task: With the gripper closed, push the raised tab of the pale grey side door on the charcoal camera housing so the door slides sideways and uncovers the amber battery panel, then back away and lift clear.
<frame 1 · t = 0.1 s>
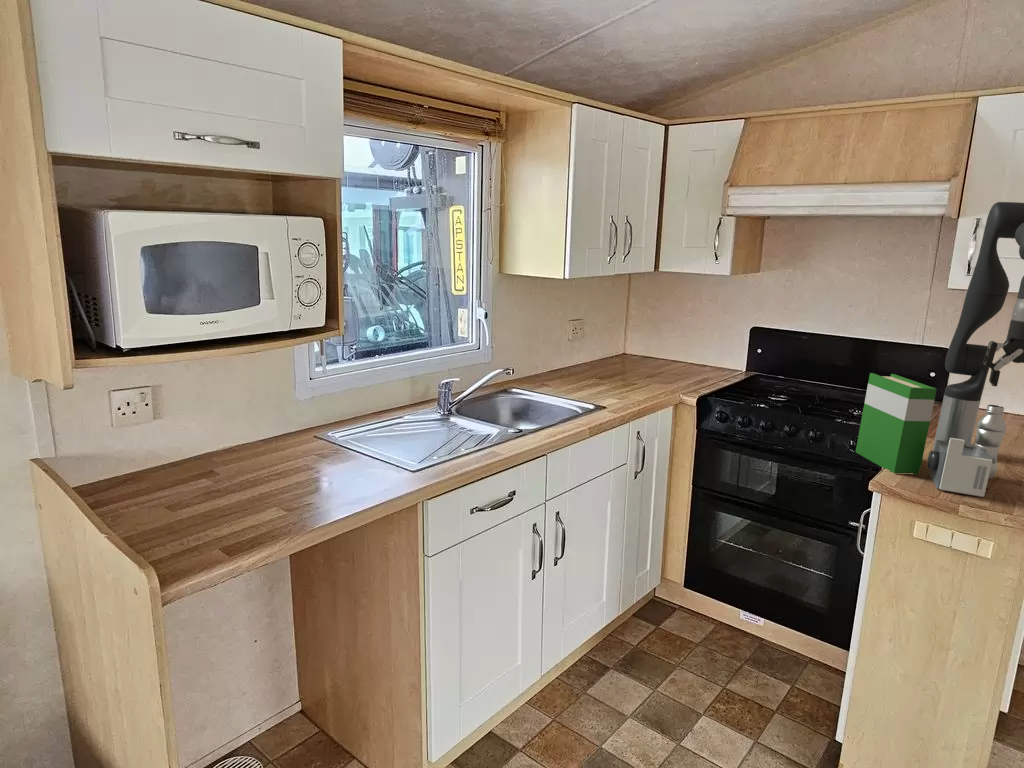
hand: (1015, 388, 161), 29 cm above the table, tool pointing down, fingers open, 8 cm apart
camera housing: (955, 485, 179), on the table
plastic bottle: (979, 477, 187), on the table
hardback book: (885, 463, 195), on the table
side door: (966, 467, 171), point 7 cm above the table, slide at 0.0 cm
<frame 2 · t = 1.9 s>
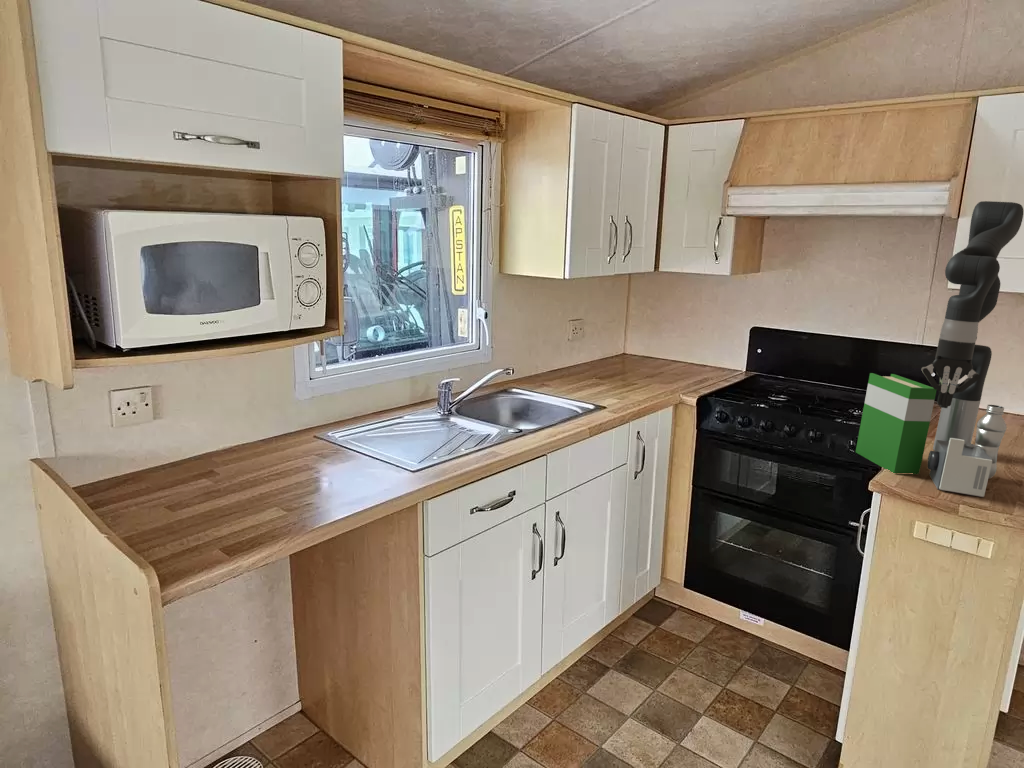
hand: (943, 407, 171), 22 cm above the table, tool pointing down, fingers closed
nothing on the table moved.
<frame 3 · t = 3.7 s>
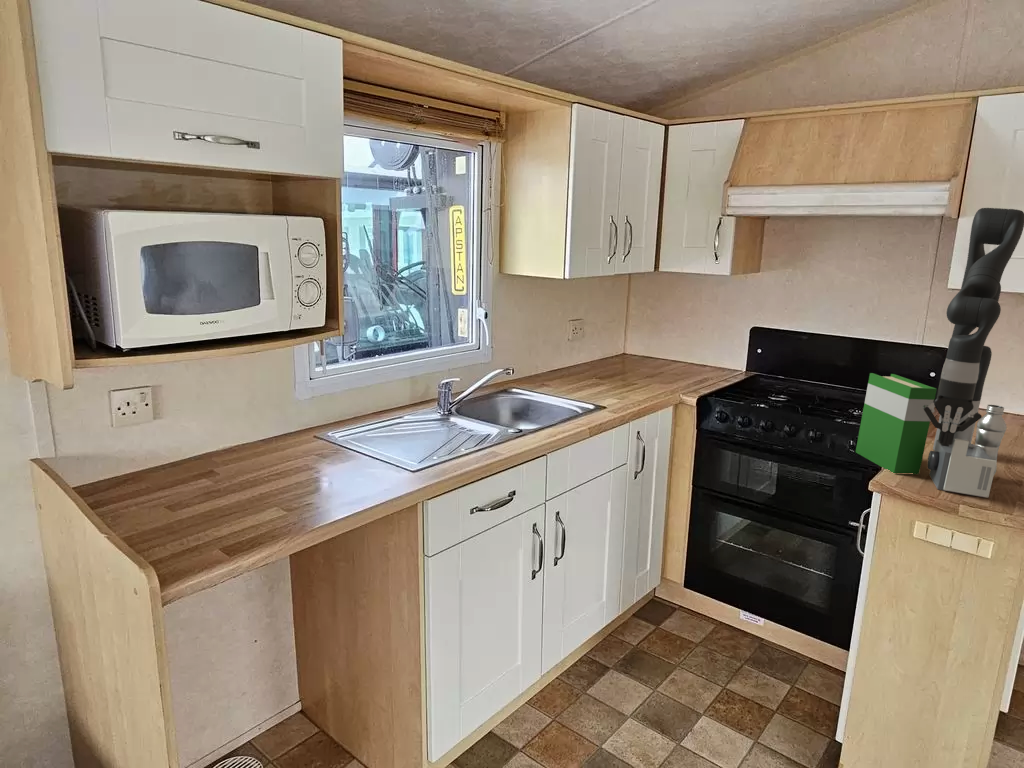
hand: (944, 445, 172), 12 cm above the table, tool pointing down, fingers closed
side door: (971, 467, 171), point 7 cm above the table, slide at 0.9 cm, touching gripper
everything else where it was.
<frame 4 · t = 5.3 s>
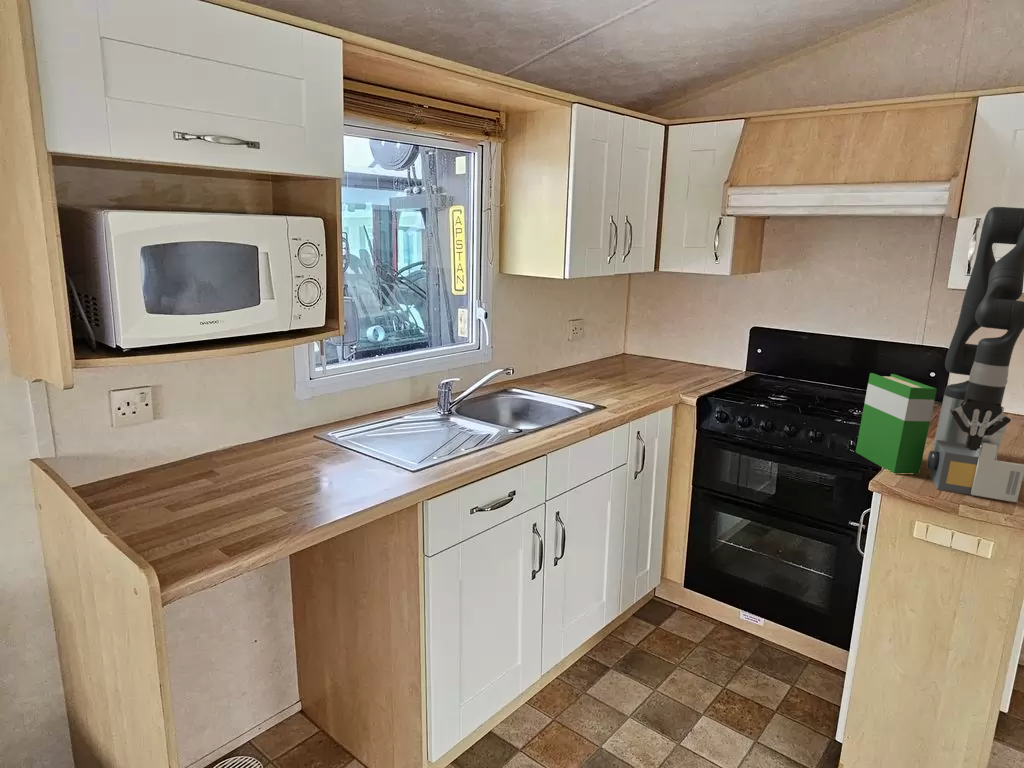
hand: (971, 449, 170), 12 cm above the table, tool pointing down, fingers closed
side door: (999, 472, 169), point 7 cm above the table, slide at 6.9 cm, touching gripper
everything else where it was.
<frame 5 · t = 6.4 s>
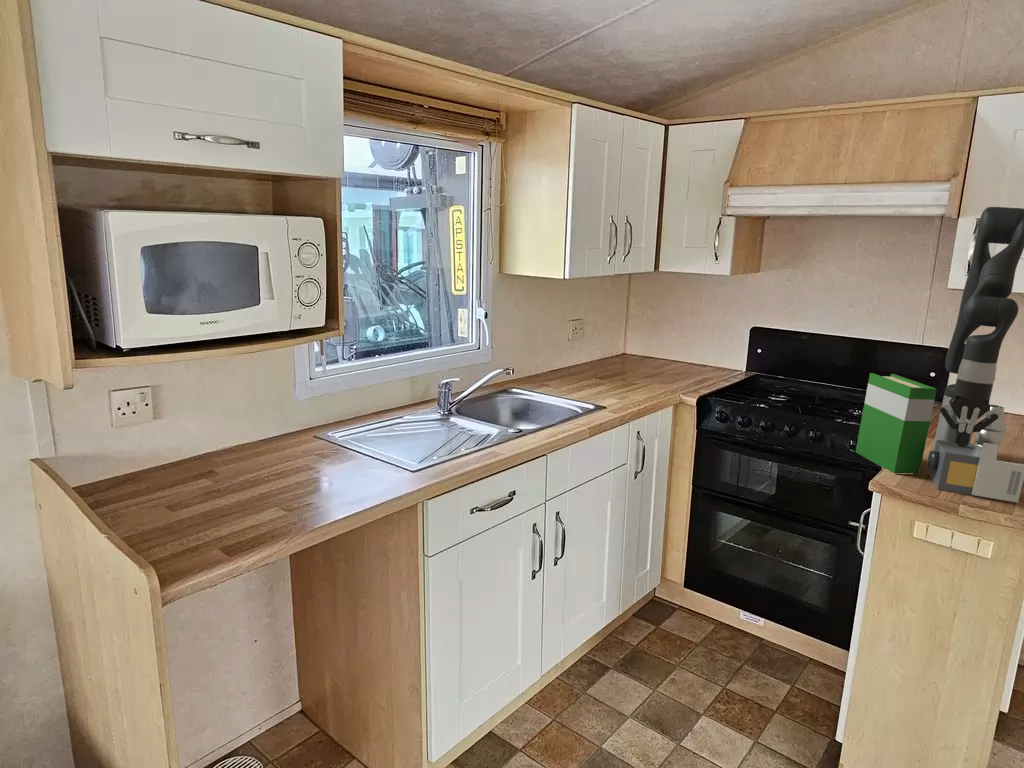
hand: (960, 446, 171), 12 cm above the table, tool pointing down, fingers closed
side door: (1000, 472, 169), point 7 cm above the table, slide at 7.1 cm
everything else where it was.
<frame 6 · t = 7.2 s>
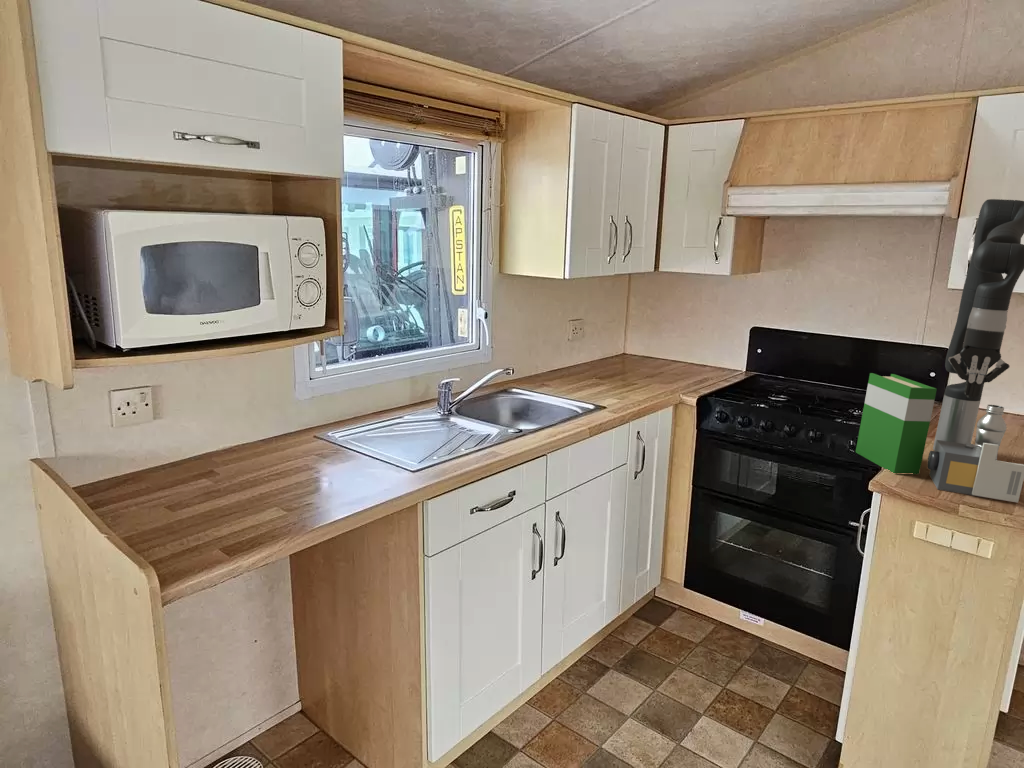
hand: (970, 397, 168), 25 cm above the table, tool pointing down, fingers closed
nothing on the table moved.
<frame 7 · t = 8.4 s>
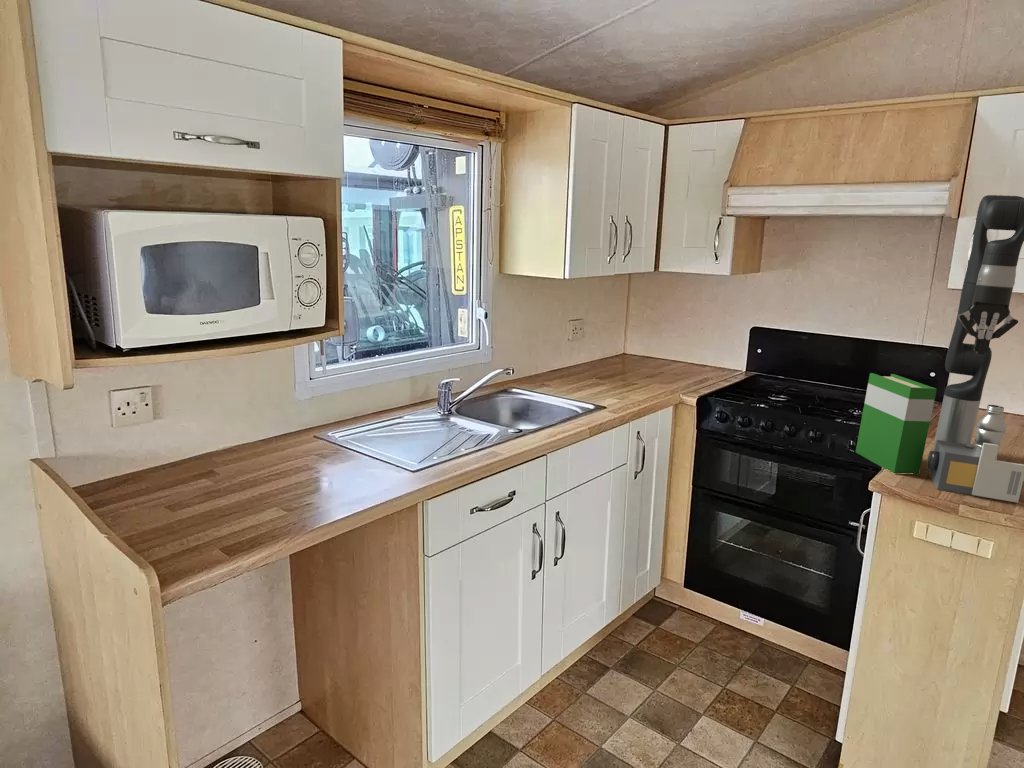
hand: (979, 353, 172), 35 cm above the table, tool pointing down, fingers closed
nothing on the table moved.
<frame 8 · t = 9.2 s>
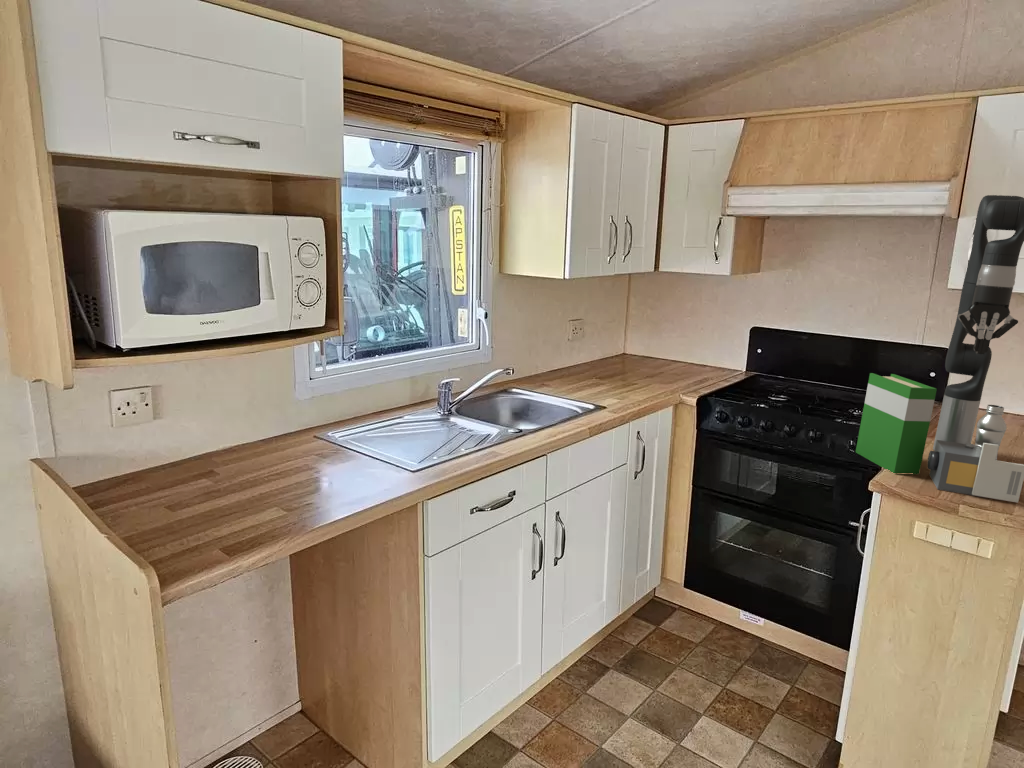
hand: (979, 353, 172), 35 cm above the table, tool pointing down, fingers closed
nothing on the table moved.
at the end: side door slide at 7.1 cm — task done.
